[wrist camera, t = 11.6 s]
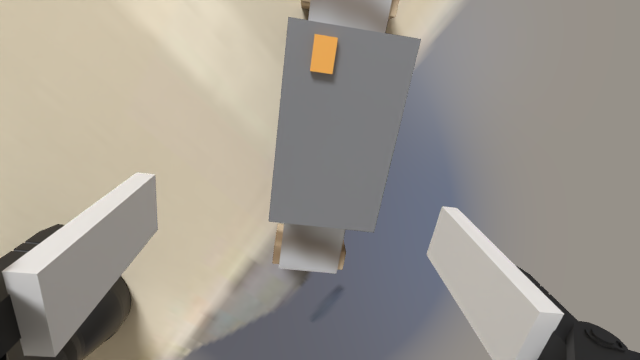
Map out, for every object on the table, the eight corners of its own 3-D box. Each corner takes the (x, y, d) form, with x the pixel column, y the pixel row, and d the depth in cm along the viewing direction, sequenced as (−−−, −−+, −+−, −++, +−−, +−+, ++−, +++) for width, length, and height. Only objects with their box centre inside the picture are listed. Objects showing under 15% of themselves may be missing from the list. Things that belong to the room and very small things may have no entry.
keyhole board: (338, 246, 43) (343, 274, 37) (276, 239, 42) (271, 267, 37) (388, -6, 32) (405, -18, 26) (304, -21, 31) (304, -36, 25)
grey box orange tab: (355, 182, 39) (375, 236, 28) (279, 173, 38) (267, 224, 27) (383, 42, 33) (423, 38, 22) (294, 28, 32) (288, 16, 21)
